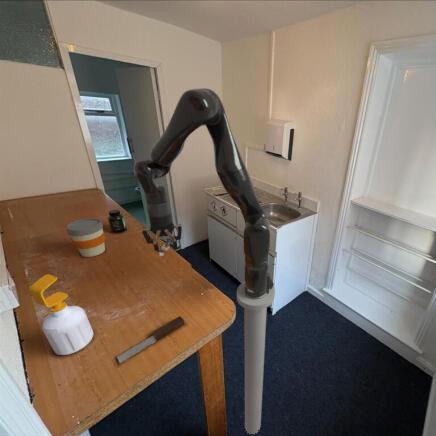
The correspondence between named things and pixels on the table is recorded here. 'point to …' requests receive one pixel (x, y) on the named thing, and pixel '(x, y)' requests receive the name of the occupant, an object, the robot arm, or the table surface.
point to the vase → (165, 247)
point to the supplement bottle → (116, 221)
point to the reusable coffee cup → (87, 236)
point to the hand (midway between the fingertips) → (166, 249)
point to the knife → (153, 338)
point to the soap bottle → (62, 320)
